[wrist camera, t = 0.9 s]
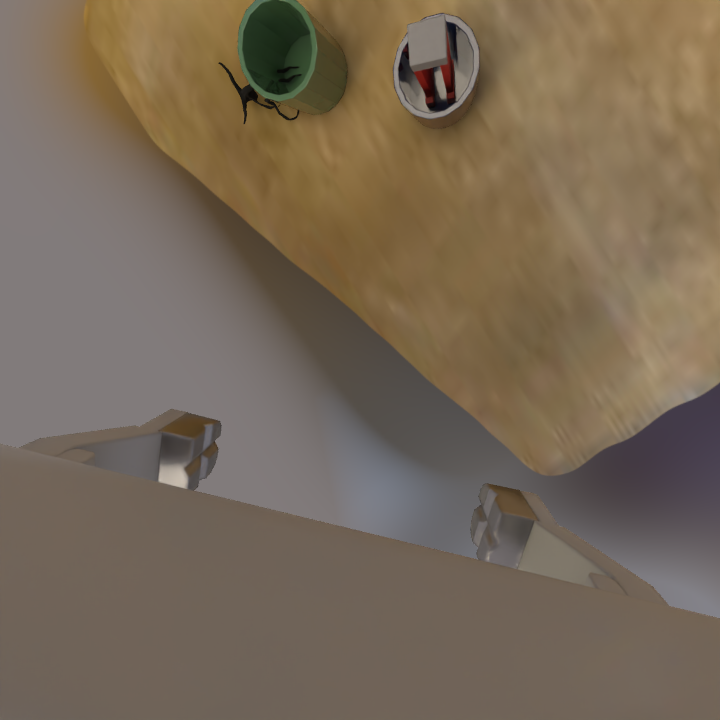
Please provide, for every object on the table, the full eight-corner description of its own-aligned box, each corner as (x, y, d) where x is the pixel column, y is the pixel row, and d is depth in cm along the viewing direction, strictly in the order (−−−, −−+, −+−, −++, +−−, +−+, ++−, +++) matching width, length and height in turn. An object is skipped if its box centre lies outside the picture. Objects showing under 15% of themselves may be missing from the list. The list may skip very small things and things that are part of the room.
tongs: (425, 72, 40) (404, 17, 26) (454, 66, 39) (447, 5, 25) (427, 108, 41) (408, 73, 27) (455, 102, 40) (449, 64, 26)
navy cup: (404, 55, 40) (389, 26, 33) (476, 37, 38) (478, 2, 31) (410, 134, 43) (397, 125, 36) (477, 121, 41) (479, 109, 34)
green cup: (276, 40, 43) (227, 6, 34) (341, 22, 41) (307, -20, 32) (291, 120, 46) (249, 108, 37) (352, 107, 44) (323, 90, 35)
